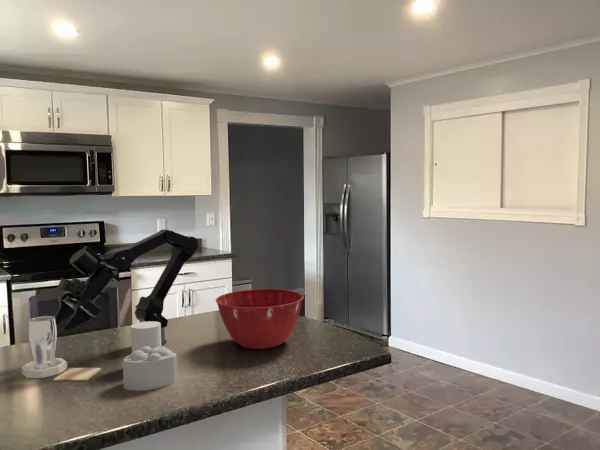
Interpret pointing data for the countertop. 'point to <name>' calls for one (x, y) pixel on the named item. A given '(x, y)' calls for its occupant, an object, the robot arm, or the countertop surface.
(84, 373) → the coaster
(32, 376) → the holder ring
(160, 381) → the lumpy-topped squat cylinder
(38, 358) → the beer glass
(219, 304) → the mixing bowl
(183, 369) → the countertop surface
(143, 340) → the cup
